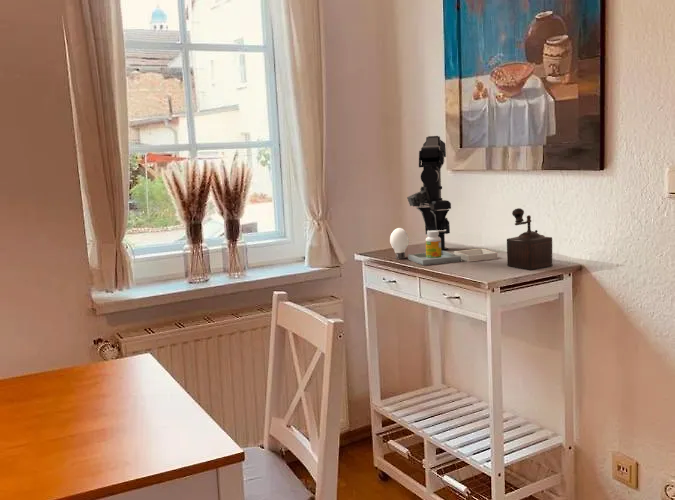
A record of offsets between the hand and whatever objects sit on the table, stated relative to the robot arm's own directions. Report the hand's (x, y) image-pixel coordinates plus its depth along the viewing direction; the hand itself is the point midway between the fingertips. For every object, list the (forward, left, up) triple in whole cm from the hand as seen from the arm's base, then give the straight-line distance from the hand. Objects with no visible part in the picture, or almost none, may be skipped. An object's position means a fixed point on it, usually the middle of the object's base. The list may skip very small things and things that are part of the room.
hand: (432, 228), depth 238 cm
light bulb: (-11, -8, -12) cm, 18 cm away
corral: (+3, +15, -11) cm, 19 cm away
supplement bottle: (0, 0, -11) cm, 11 cm away
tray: (0, 0, -11) cm, 11 cm away
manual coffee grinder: (+24, +22, -12) cm, 34 cm away
